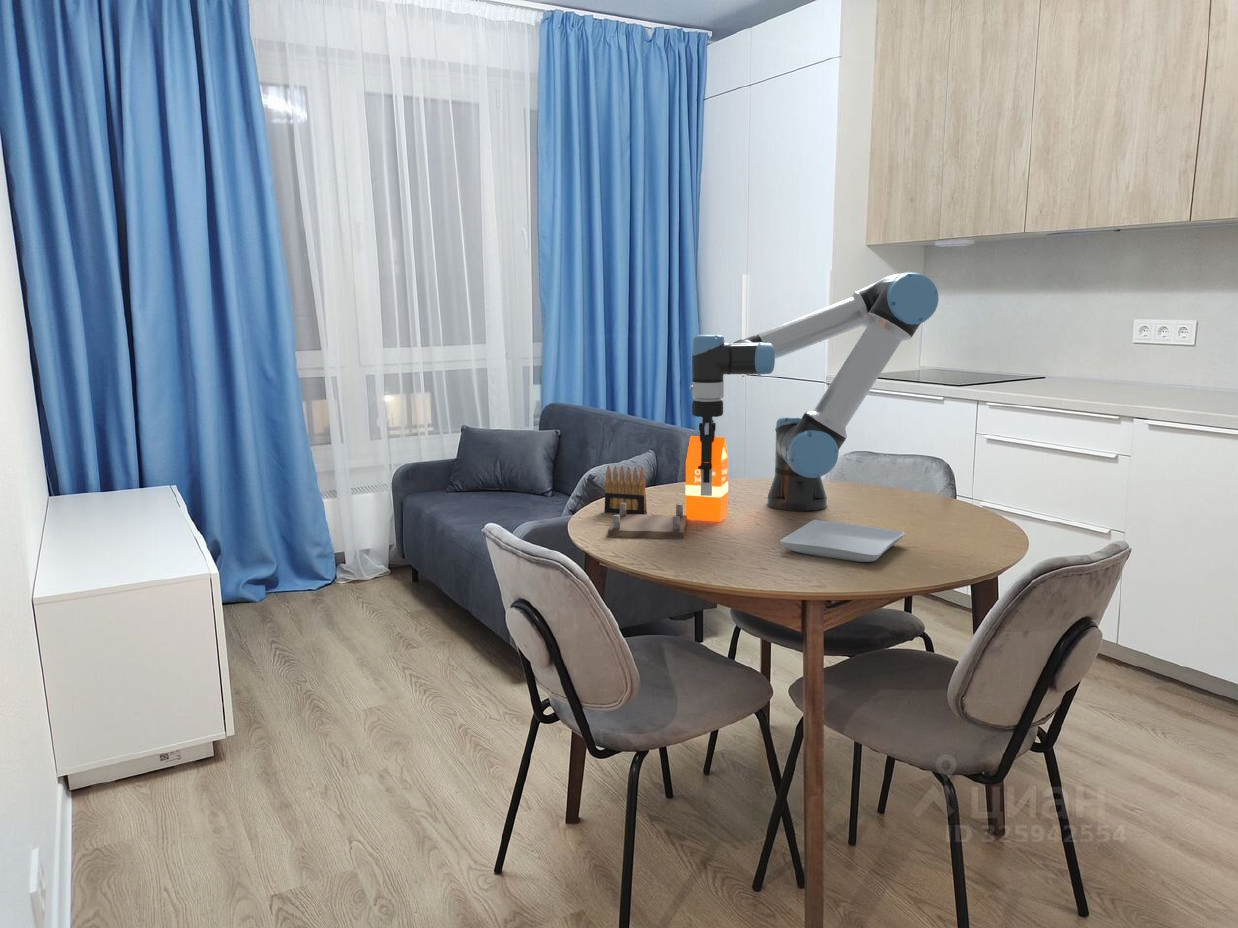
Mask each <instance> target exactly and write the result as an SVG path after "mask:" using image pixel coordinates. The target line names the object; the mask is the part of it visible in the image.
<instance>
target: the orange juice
mask: <svg viewBox="0 0 1238 928" xmlns="http://www.w3.org/2000/svg"><path fill="white" fill-rule="evenodd" d="M704 463H709V462H704ZM698 466H701V442H700V435H690V438H689V444H688V448H687V453H686V460H685V516H687V520H691V521H704V522H705V521H706V522H718V523H719V522H722V521H723V520H724V519H725V518H727V516H728V513H729V510H728V507H729V506H728V505H729V504H728V503H729V500H728V498H729V497H728V496H729V493H728V492H729V455H728V448H727V443H726V437H724V436H721V437H720V436H715V437H714V442H712V496H701V469H698Z"/></svg>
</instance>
